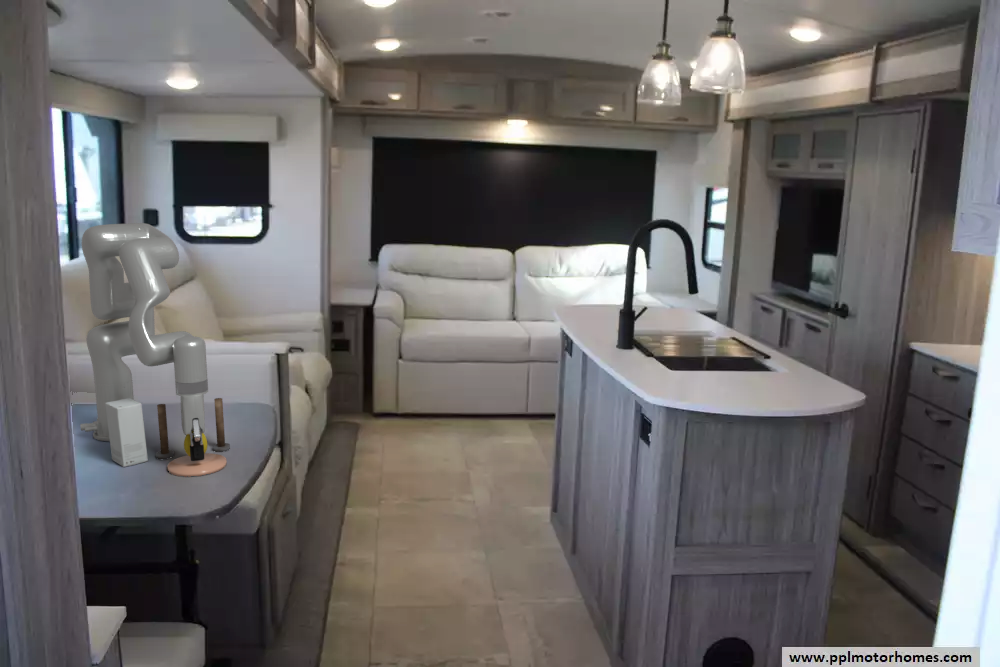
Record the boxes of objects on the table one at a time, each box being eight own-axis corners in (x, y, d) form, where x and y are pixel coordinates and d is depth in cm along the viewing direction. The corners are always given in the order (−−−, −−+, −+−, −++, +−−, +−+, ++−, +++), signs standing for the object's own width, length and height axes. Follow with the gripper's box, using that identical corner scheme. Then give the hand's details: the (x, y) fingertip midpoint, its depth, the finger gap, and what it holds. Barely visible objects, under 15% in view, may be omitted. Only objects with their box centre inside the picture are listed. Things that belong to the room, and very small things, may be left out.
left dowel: (156, 460, 211) (152, 408, 208) (155, 455, 215) (151, 403, 212) (174, 458, 213) (171, 406, 210) (173, 452, 217) (169, 401, 214)
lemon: (180, 461, 206) (178, 430, 204) (197, 454, 211) (195, 424, 209) (195, 465, 203) (193, 434, 202) (213, 458, 208) (211, 428, 207)
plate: (169, 480, 198) (169, 476, 198) (166, 461, 211) (165, 457, 210) (230, 471, 204) (229, 468, 204) (223, 454, 216) (223, 450, 216)
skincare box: (148, 462, 210) (143, 403, 207) (121, 468, 206) (116, 408, 203) (135, 453, 216) (130, 396, 213) (109, 459, 212) (104, 401, 208)
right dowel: (213, 453, 217) (210, 402, 214) (211, 447, 221) (208, 397, 218) (231, 450, 219) (228, 400, 216) (228, 445, 223) (226, 396, 220)
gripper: (173, 379, 209) (178, 447, 213) (178, 397, 194) (183, 469, 198) (204, 377, 212) (208, 443, 216) (211, 394, 197) (215, 465, 201)
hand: (196, 455), depth 207 cm, fingers closed on lemon, 5 cm apart
